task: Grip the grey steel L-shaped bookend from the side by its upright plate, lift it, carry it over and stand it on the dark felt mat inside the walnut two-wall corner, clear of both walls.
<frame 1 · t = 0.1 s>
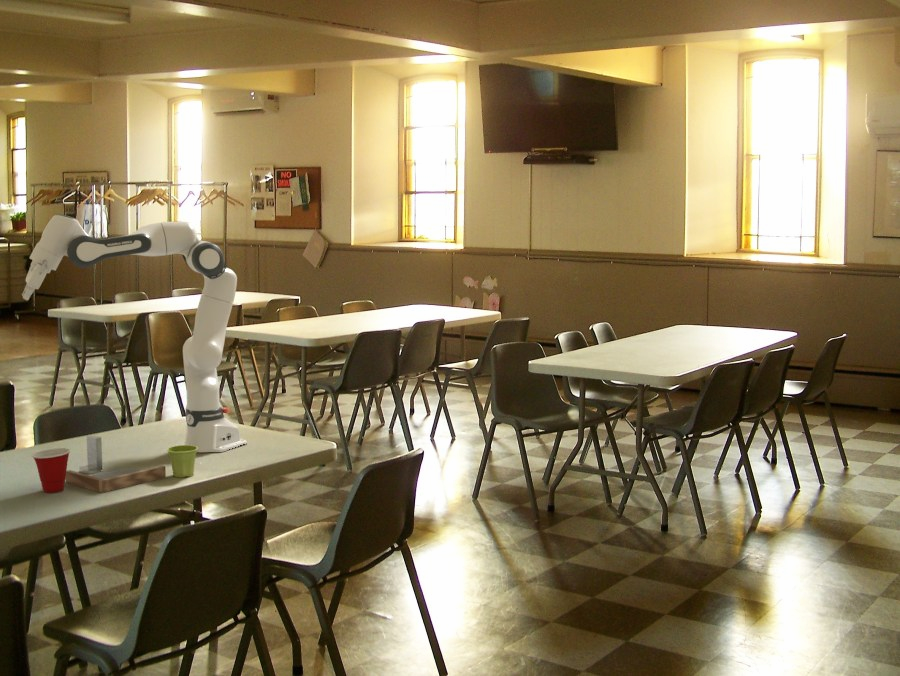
hand: (24, 298, 346), 54 cm above the table, tool tilted 30°, fingers open, 8 cm apart
plastic cup: (52, 491, 320), on the table
felt mat: (117, 478, 334), on the table
steel bookend: (91, 471, 343), on the table
plant pot: (183, 476, 338), on the table
corner walls: (116, 479, 333), resting in felt mat
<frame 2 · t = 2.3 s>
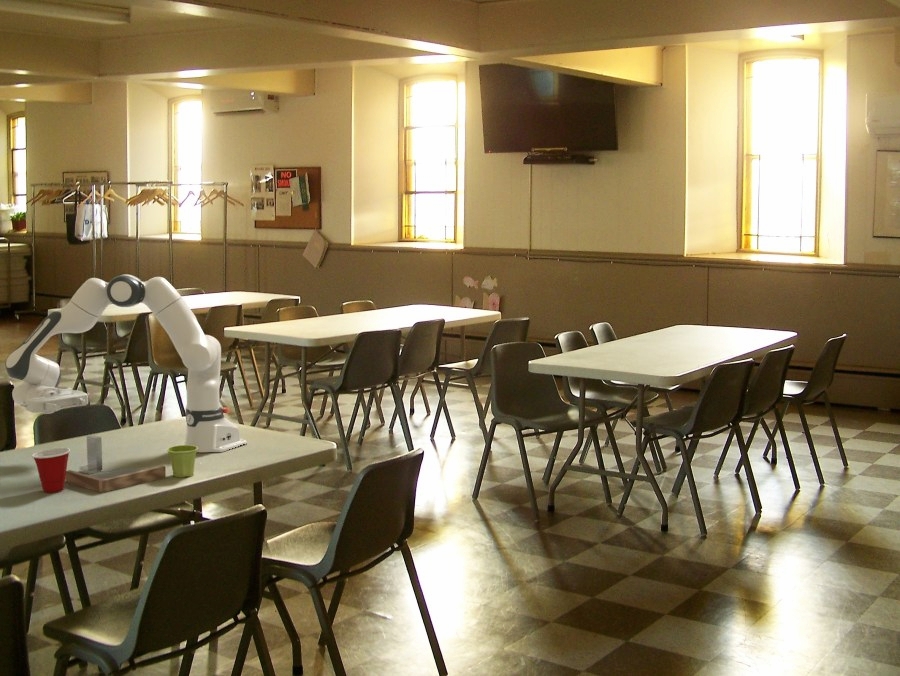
hand: (70, 405, 349), 20 cm above the table, tool horizontal, fingers open, 8 cm apart
nothing on the table moved.
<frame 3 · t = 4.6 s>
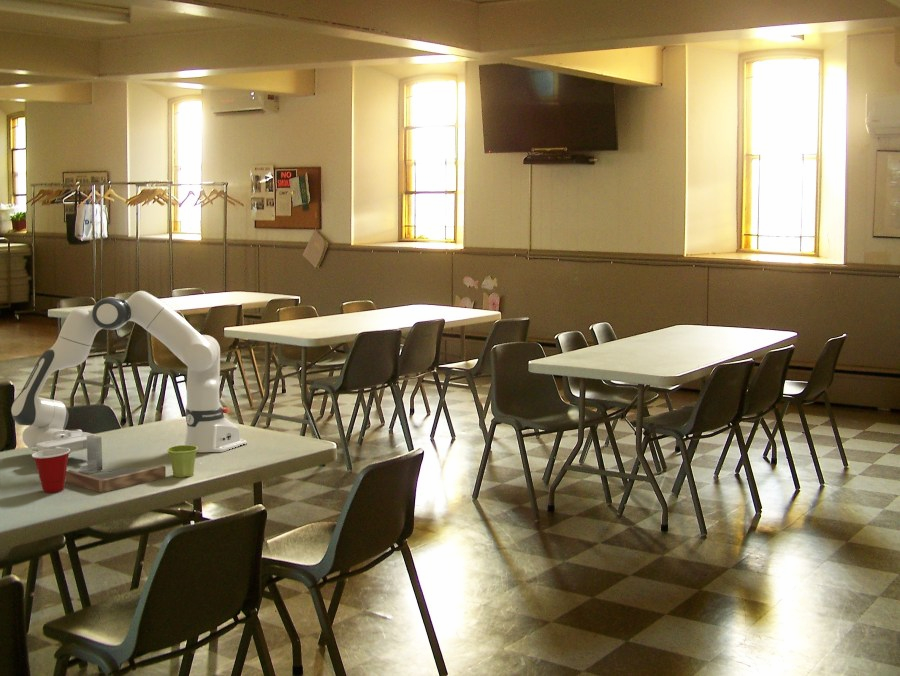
hand: (81, 448, 348), 6 cm above the table, tool horizontal, fingers open, 8 cm apart
nothing on the table moved.
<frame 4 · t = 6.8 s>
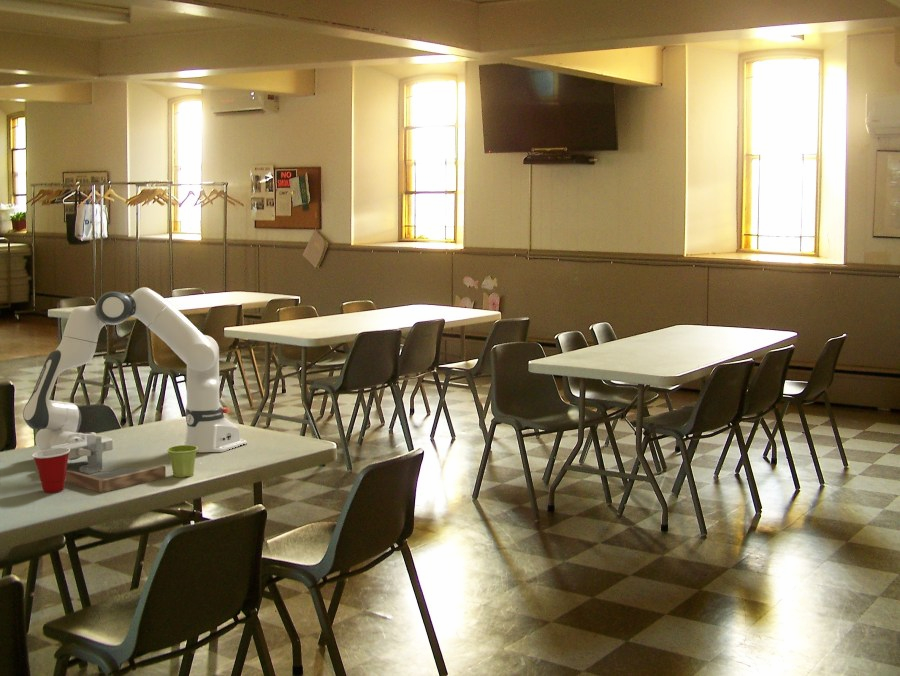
hand: (96, 452, 343), 6 cm above the table, tool horizontal, fingers closed on steel bookend
steel bookend: (91, 471, 343), on the table, touching gripper
everything else where it was.
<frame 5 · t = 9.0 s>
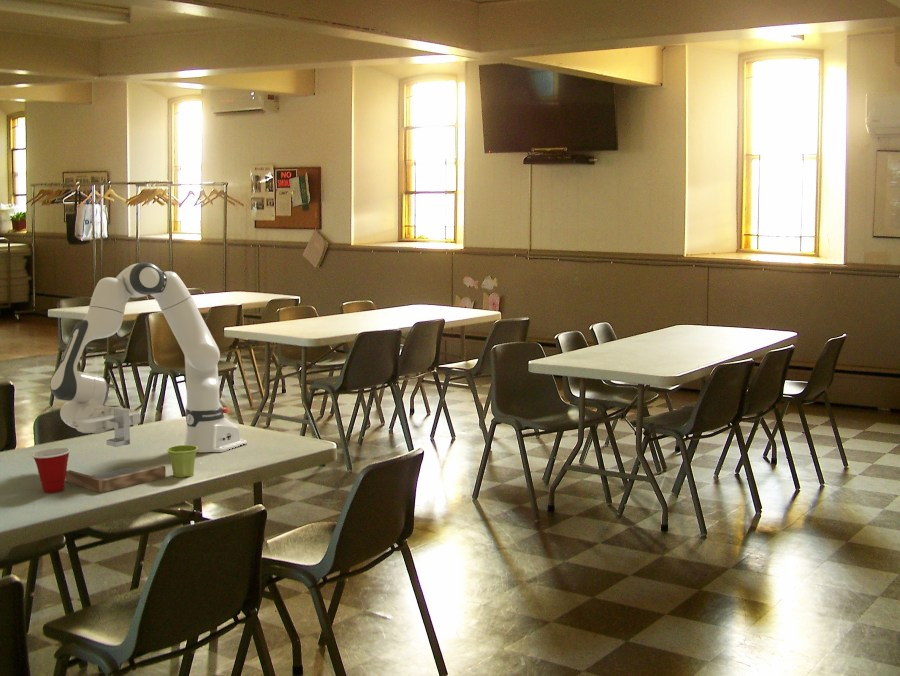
hand: (123, 424, 332), 17 cm above the table, tool horizontal, fingers closed on steel bookend
steel bookend: (118, 444, 333), point 11 cm above the table, touching gripper
everything else where it was.
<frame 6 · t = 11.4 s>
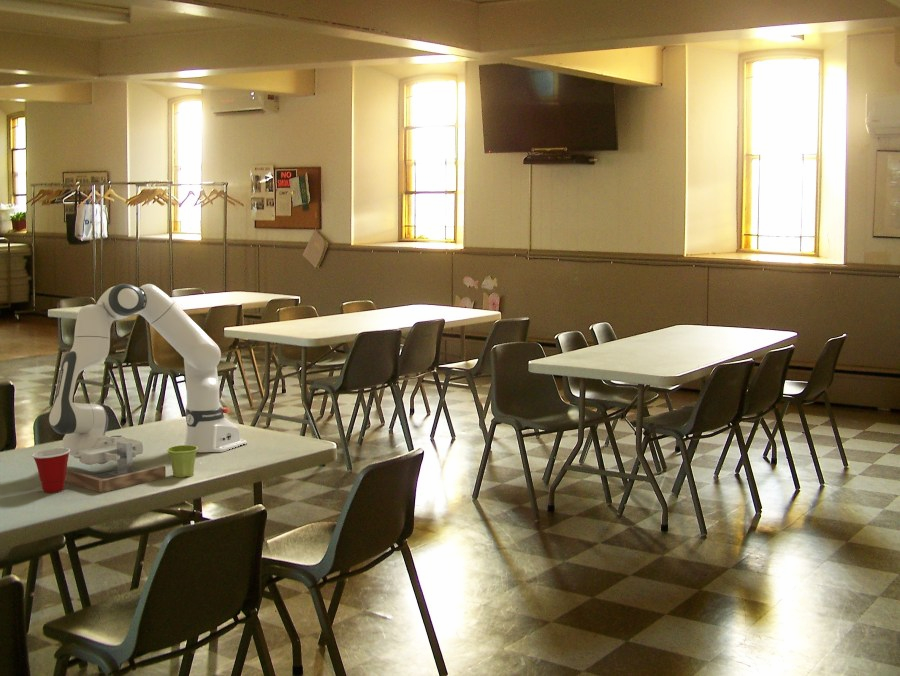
hand: (126, 456, 333), 7 cm above the table, tool horizontal, fingers open, 4 cm apart
steel bookend: (121, 477, 333), resting on felt mat
everything else where it was.
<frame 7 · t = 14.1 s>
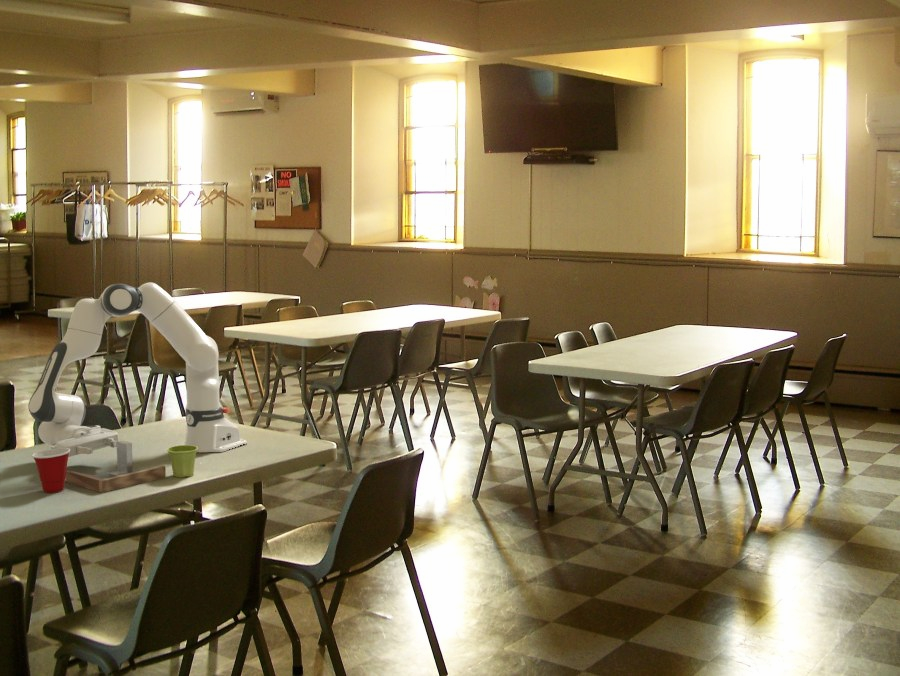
hand: (103, 448, 341), 8 cm above the table, tool horizontal, fingers open, 8 cm apart
nothing on the table moved.
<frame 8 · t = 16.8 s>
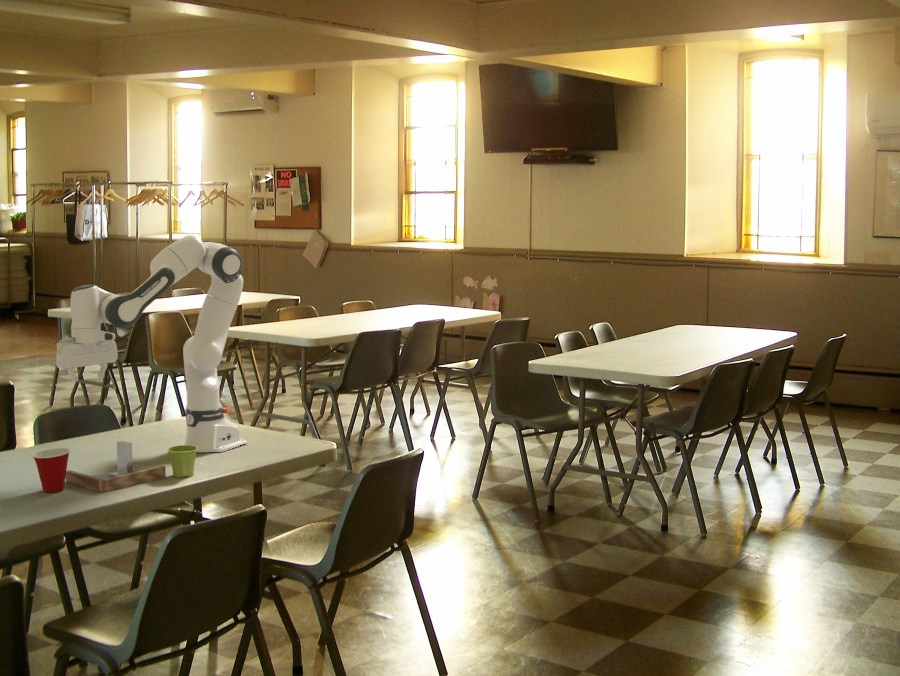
hand: (88, 379, 342), 29 cm above the table, tool pointing down, fingers open, 8 cm apart
nothing on the table moved.
at the end: steel bookend inside the target area (1.1 cm from its centre), resting on felt mat; steel bookend tilted 0°; steel bookend touching felt mat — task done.
